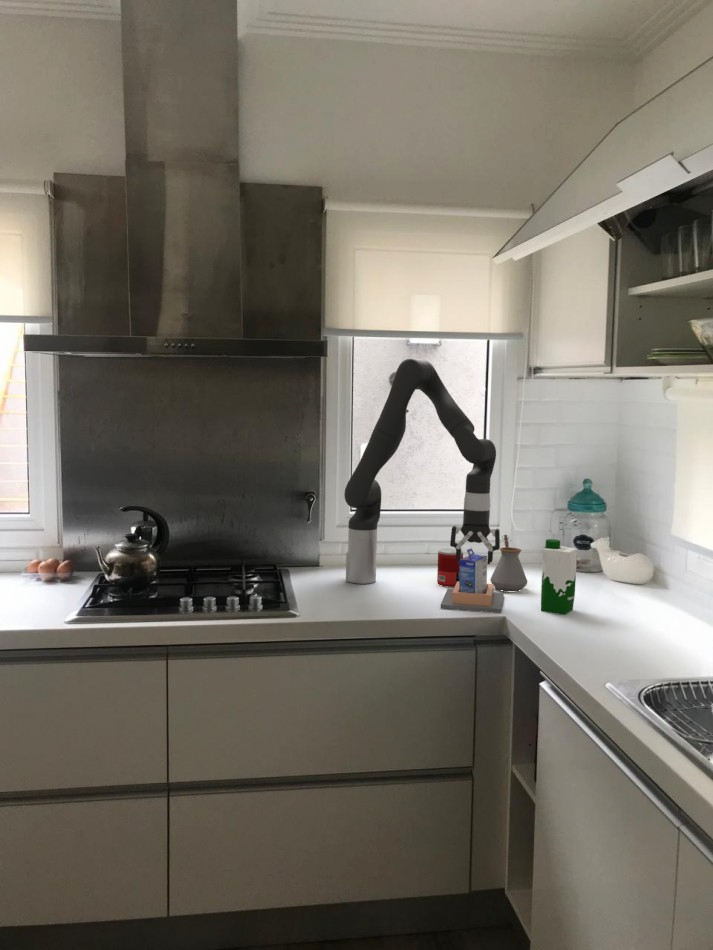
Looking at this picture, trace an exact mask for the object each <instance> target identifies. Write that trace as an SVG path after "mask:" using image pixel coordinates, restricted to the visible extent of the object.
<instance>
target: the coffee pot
mask: <svg viewBox="0 0 713 950" xmlns="http://www.w3.org/2000/svg"><path fill="white" fill-rule="evenodd" d="M503 537H504V538H503ZM501 538H502V540H504V546H505V547H500V548H499V550H500V553H501V555H500V558H499V560H498V562H497V564H496V566H495V569H494V570H493V572H492V574H491V577H490V584H494V587H495V589H496V588H497V589H499V590H503V591H502V592H504V591H519V590H521V591H522V589H524V588H525V587H526V586H527V585H528V579H527V576H526V573H525V571H524V568H523V565H522V563H521V560H520V557H519V555H520V554H521V552H522V549H520V548H517V547H510V546H509V545H510V543H509V538H510V536H508V535H507V534H504V535H503V536H501ZM497 589H496V590H497ZM499 590H498V591H499ZM519 592H520V591H519Z"/></svg>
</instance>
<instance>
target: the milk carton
mask: <svg viewBox="0 0 713 950" xmlns="http://www.w3.org/2000/svg"><path fill="white" fill-rule="evenodd" d="M541 552H542V553H541V554H542V557H541V558H542V564H541V565H542V566H541V570H542V572H541V586H540V587H541V589H540V592H541V593H540V611H541V612H545V611H546V612H547V613H551V612H552V614H557V613H558V614H559V615H564V616H565V615H567V614H568V613H570V612H571V611H573V609H574V602H575V596H576V579H577V576H576V575H577V557H578V548H577V547H569V546H562V545H561V540H559V539H553V538H551V539H548V538H547V539H545V546H544V547H543V548H542V550H541ZM558 614H557V615H558Z"/></svg>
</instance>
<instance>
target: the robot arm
mask: <svg viewBox="0 0 713 950" xmlns="http://www.w3.org/2000/svg"><path fill="white" fill-rule="evenodd" d="M416 390H417V391H418V390H420V391H421V392H422V393H423V394H424V395H425V396H426V397H428V399H429V400H430V401H431V403H432V404H433V407H434V409H435V412H436V414H437V417H438V419H439V422H440V423H441V424H442V426H443V427H444V429H446V431H447V432H448V433H449V434H450V436H451V437H452V438H453V439H454V442H455V443H456V444H455V445H456V446H457V448H458V450H459V453H460V455H462V457H463V458H464V460H465V461H467V462H469V464H472V468H471V471H469V472H468V473H467V475H466V477H465V479H466V480H465V492H464V493H465V494H464V499H463V516H462V517H463V518H462V519H463V520H462V526H457V525H453V526H452V527H451V532H450V533H451V535H450V541H449V542H450V543H449V544H450V547H453V548H454V549H456V560H458V562H460V560H461V550H462V547H463V546H464V544H466V543H467V542H469V543H477V544H481V543H483V544H484V546H485V547H486V548H487V550H488V551H487V565H491V563H493V559H494V552H495V551H499V550H500V548H501V546H500V545H501V544H500V543H501V539H500V538H501V537H500V536H501V535H500V529H499V528H498V527H497V528H492V529H491V528H490V515H491V513H490V511H491V477H492V474H493V471H494V467H495V463H496V458H497V449H496V446H495V444H494V442H493V441H492V440H491V439H489V438H488V439H487V438H478V437H477V436H476V435H475V433H474V432H475V426H474V424H473V422H472V421H471V420H470V418H469V417H468V416H467V415H466V414H465V412H464V411H463V410H462V409H461V407H459V405H458V403H457V402H456V401H455V399H454V398H453V396H451V394H450V393H449V391H448V389H447V387H446V386H445V384H444V382H443V381H442V379H441V378H440V375H439V373H438V372H437V370H436V369H435V367H434V365H433V364H432V363H431V362H430V361H429V360H426V359H423V358H422V359H421V358H413V357H410V358H409V357H408V358H406V359H403V360H402V361H401V363H400V364H399V365H398V367H397V369H396V372H395V374H394V378H393V380H392V384H391V387H390V389H389V393H388V396H387V398H386V400H385V402H384V405H383V407H382V411H381V413H380V415H379V417H378V419H377V421H376V423H375V426H374V427H373V430H372V432H371V435H370V438H369V440H368V443H367V445H366V447H365V449H364V451H363V453H362V456H361V458H360V461H359V462H358V464H357V466H356V468H355V469H354V471H353V473H352V474H351V476H350V477H349V480H348V482H347V483H346V485H345V489H344V500H345V501H344V502H345V503H346V504H347V505H348V506H349V507H350V508H352V509H355V512H354V514H353V515H352V516H351V517H349V520H348V527H347V528H348V533H347V535H348V536H347V537H348V538H347V551H346V554H345V556H346V557H345V558H346V559H345V582H346V583H352V584H359V585H360V584H361V585H363V584H365V585H367V584H373V583H375V582H376V580H377V579H376V578H377V550H378V549H377V546H378V545H377V543H378V542H377V541H378V523H379V521H380V519H381V518H380V517H381V510H382V509H381V508H382V507H381V506H382V489H381V486H380V483H379V482H378V481H377V480H376V477H377V476H378V473H379V472H380V470H382V468H383V467H384V466H385V465H386V463H387V462H389V460H390V459H391V458H392V457H393V456H394V455H395V453H396V451H398V448H399V446H400V444H401V442H402V440H403V438H404V435H405V433H406V428H407V408H408V405H409V402H410V401H411V398H412V396H413V394H414V393H415V391H416ZM459 532H461V533H462V535H463V538H461V540H460V541H459V542H456V538H457V537H456V536H457V534H459ZM490 534H492V537H494V544H495V545H492V543H491V541H490V540H489V539H488V536H489V535H490Z"/></svg>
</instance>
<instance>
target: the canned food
mask: <svg viewBox="0 0 713 950" xmlns="http://www.w3.org/2000/svg"><path fill="white" fill-rule="evenodd" d="M437 551H438V552H437V571H436V572H437V574H436V575H437V576H436V577H437V580H436V581H437V582H436V583H437V584H439V585H438V586H440V585H442V587H444V586H448V587H447V588H455V585H456V583H457V581H458V582H459V567H460V562H458V560H456V548H441V549H440V548H439V549H438V550H437ZM463 558H464V550H462V549H461V559H463Z"/></svg>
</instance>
